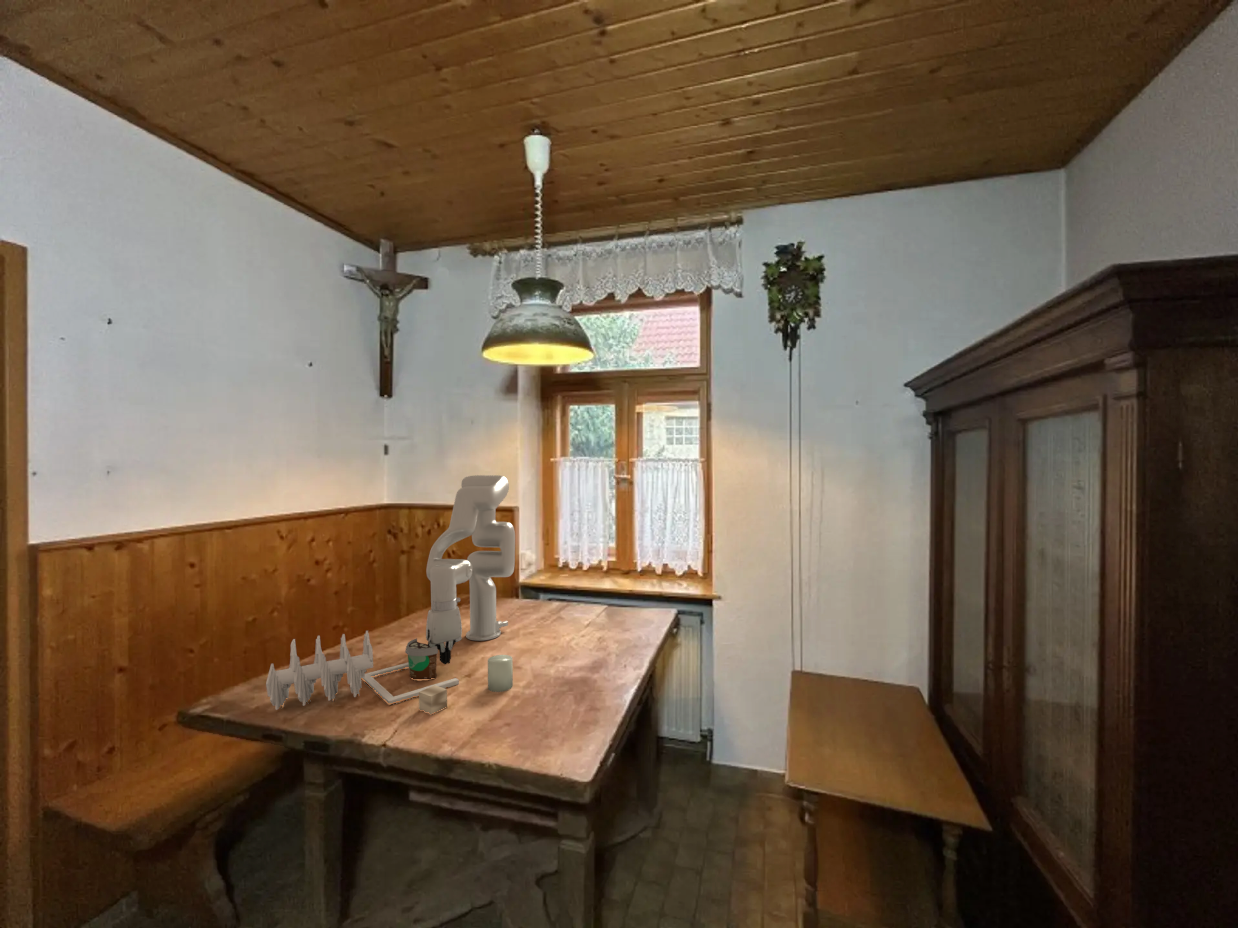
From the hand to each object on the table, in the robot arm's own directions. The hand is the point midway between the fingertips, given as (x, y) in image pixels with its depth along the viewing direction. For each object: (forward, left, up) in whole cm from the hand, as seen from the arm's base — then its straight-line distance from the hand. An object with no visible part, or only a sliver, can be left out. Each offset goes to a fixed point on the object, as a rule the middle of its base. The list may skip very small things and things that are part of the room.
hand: (445, 662), depth 166 cm
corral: (+10, 0, -3) cm, 11 cm away
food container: (+9, 0, -3) cm, 9 cm away
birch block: (+13, +22, -3) cm, 26 cm away
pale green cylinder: (-7, +22, -3) cm, 24 cm away
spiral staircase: (+33, -4, -3) cm, 34 cm away
